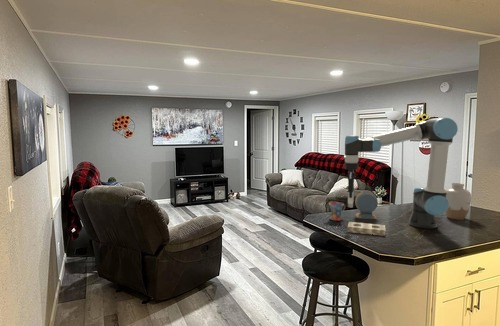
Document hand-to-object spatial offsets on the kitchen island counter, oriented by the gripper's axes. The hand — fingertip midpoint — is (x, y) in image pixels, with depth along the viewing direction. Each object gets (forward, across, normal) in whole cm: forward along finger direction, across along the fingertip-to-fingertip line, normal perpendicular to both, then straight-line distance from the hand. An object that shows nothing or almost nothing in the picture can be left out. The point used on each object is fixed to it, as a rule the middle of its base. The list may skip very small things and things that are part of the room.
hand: (350, 202), depth 196 cm
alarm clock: (+16, -32, +7) cm, 37 cm away
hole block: (+16, +2, +9) cm, 18 cm away
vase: (+17, -51, +63) cm, 83 cm away
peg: (+3, 0, 0) cm, 3 cm away
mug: (+16, -18, -9) cm, 26 cm away
